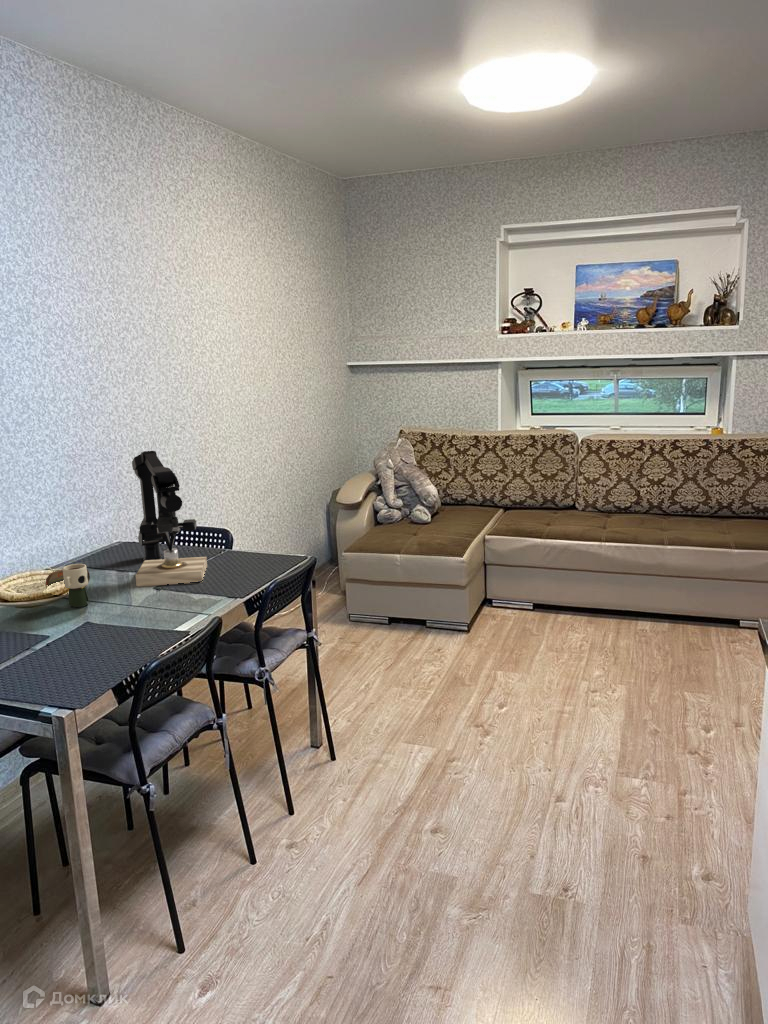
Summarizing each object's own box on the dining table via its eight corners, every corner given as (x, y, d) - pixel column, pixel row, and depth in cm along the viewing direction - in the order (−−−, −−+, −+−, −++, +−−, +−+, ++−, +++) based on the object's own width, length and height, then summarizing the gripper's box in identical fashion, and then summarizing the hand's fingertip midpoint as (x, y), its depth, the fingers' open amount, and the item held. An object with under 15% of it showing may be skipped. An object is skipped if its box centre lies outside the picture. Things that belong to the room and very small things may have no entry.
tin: (50, 599, 257) (47, 574, 255) (45, 597, 259) (42, 573, 257) (91, 586, 269) (88, 563, 267) (86, 585, 271) (83, 562, 269)
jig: (145, 570, 285) (144, 560, 284) (207, 567, 287) (206, 556, 286) (136, 586, 268) (135, 575, 267) (202, 582, 270) (201, 571, 269)
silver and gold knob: (164, 573, 280) (161, 547, 278) (184, 571, 281) (182, 546, 279) (161, 579, 274) (158, 553, 271) (181, 577, 274) (179, 552, 272)
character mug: (81, 611, 245) (76, 572, 242) (59, 611, 246) (54, 571, 243) (97, 600, 255) (93, 561, 252) (77, 599, 256) (72, 561, 253)
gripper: (134, 513, 263) (139, 558, 266) (191, 510, 265) (195, 554, 268) (140, 506, 274) (144, 549, 277) (194, 503, 276) (198, 546, 279)
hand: (170, 550), depth 275 cm, fingers closed, pressing on silver and gold knob
